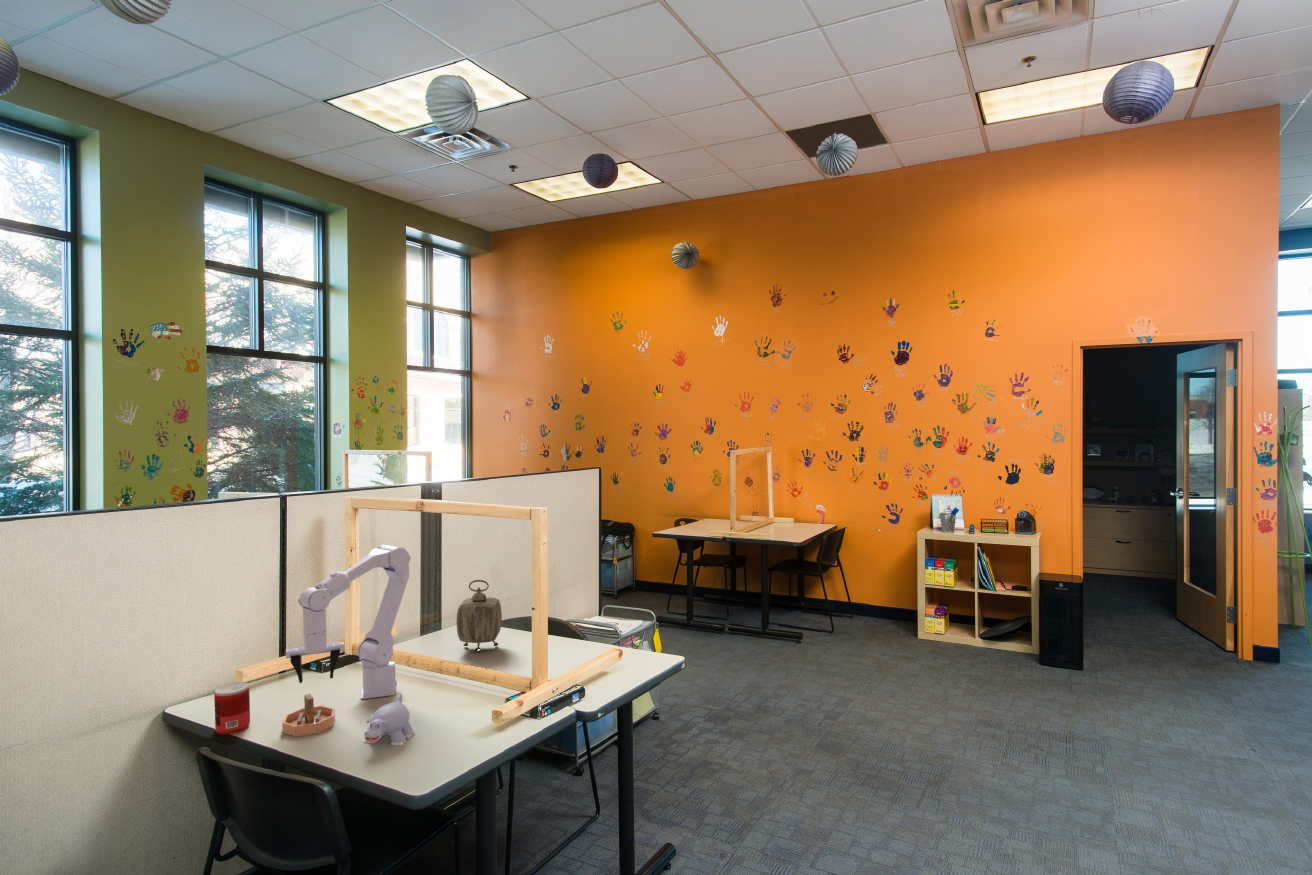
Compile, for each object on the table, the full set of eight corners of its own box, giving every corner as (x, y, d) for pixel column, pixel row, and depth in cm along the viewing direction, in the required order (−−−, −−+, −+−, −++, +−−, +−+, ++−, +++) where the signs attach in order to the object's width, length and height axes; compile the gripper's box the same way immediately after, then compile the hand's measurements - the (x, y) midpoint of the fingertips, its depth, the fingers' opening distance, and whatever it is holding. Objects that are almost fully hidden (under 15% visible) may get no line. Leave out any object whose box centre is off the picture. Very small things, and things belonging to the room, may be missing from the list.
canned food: (256, 723, 187) (255, 683, 187) (230, 737, 180) (229, 695, 179) (235, 720, 190) (234, 680, 189) (208, 732, 182) (207, 691, 182)
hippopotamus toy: (350, 753, 171) (349, 715, 171) (383, 726, 186) (382, 691, 185) (390, 756, 169) (389, 718, 169) (420, 729, 184) (420, 693, 184)
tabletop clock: (502, 645, 250) (501, 576, 250) (497, 653, 241) (496, 582, 240) (461, 646, 250) (460, 577, 249) (455, 654, 241) (454, 583, 240)
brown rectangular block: (310, 718, 189) (310, 693, 188) (313, 723, 185) (313, 698, 185) (304, 720, 188) (304, 694, 187) (307, 725, 184) (307, 699, 184)
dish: (336, 712, 194) (336, 703, 194) (332, 731, 183) (332, 721, 183) (287, 719, 190) (287, 709, 190) (280, 738, 179) (280, 728, 179)
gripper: (343, 623, 199) (345, 670, 200) (286, 630, 193) (288, 678, 194) (343, 630, 193) (344, 678, 193) (284, 638, 187) (286, 687, 187)
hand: (316, 679), depth 193 cm, fingers open, 7 cm apart
